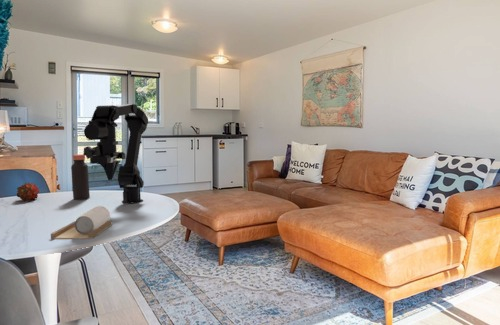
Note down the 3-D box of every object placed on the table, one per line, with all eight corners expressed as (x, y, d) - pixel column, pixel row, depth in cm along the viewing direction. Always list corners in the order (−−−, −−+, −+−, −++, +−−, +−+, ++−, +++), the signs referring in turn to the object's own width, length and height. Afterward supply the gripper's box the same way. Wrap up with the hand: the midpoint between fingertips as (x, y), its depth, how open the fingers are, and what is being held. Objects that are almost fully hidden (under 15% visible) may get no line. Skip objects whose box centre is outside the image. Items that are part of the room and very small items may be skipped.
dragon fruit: (25, 206, 156) (28, 205, 167) (43, 193, 160) (44, 192, 170) (11, 191, 154) (14, 191, 165) (28, 178, 158) (31, 179, 168)
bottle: (80, 196, 168) (78, 154, 166) (93, 197, 166) (90, 154, 164) (69, 199, 161) (66, 155, 159) (82, 200, 159) (79, 155, 157)
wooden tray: (75, 225, 118) (75, 221, 118) (111, 225, 117) (111, 220, 117) (51, 238, 104) (50, 233, 104) (91, 238, 103) (91, 233, 103)
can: (114, 218, 118) (99, 229, 106) (98, 228, 118) (81, 240, 106) (103, 202, 117) (86, 210, 105) (87, 212, 118) (68, 222, 106)
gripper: (97, 138, 145) (99, 176, 146) (74, 140, 126) (76, 184, 128) (125, 138, 144) (126, 176, 146) (105, 139, 126) (107, 183, 127)
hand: (110, 179), depth 137 cm, fingers closed
